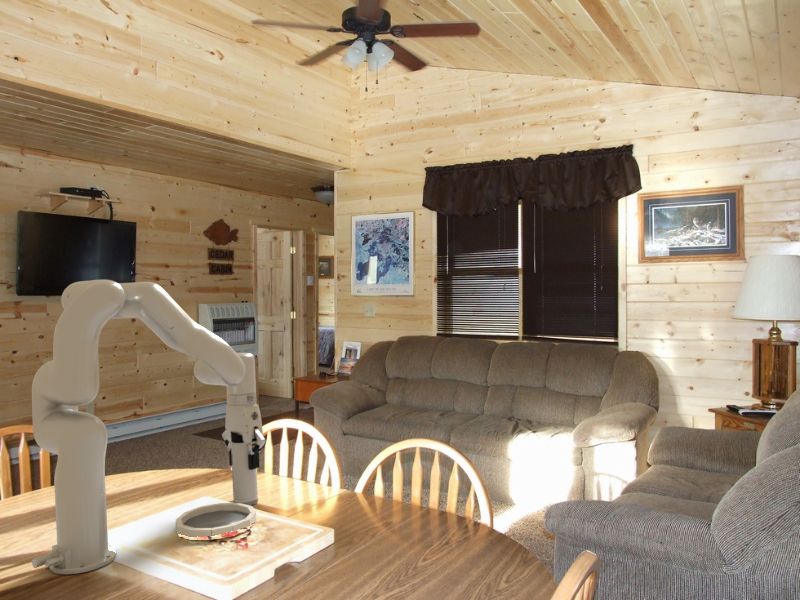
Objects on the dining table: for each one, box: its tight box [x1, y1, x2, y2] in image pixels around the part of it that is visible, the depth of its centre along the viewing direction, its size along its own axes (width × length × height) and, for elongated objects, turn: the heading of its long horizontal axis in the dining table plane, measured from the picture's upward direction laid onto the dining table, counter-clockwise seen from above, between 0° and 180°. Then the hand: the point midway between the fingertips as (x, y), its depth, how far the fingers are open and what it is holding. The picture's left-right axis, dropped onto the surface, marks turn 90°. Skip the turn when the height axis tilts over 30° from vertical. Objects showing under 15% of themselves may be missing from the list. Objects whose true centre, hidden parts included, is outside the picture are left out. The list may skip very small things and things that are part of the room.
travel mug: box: [231, 432, 259, 506], centre depth 167 cm, size 6×7×20 cm
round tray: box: [175, 502, 257, 537], centre depth 151 cm, size 18×18×2 cm
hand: (244, 466), depth 167 cm, fingers open, 6 cm apart
